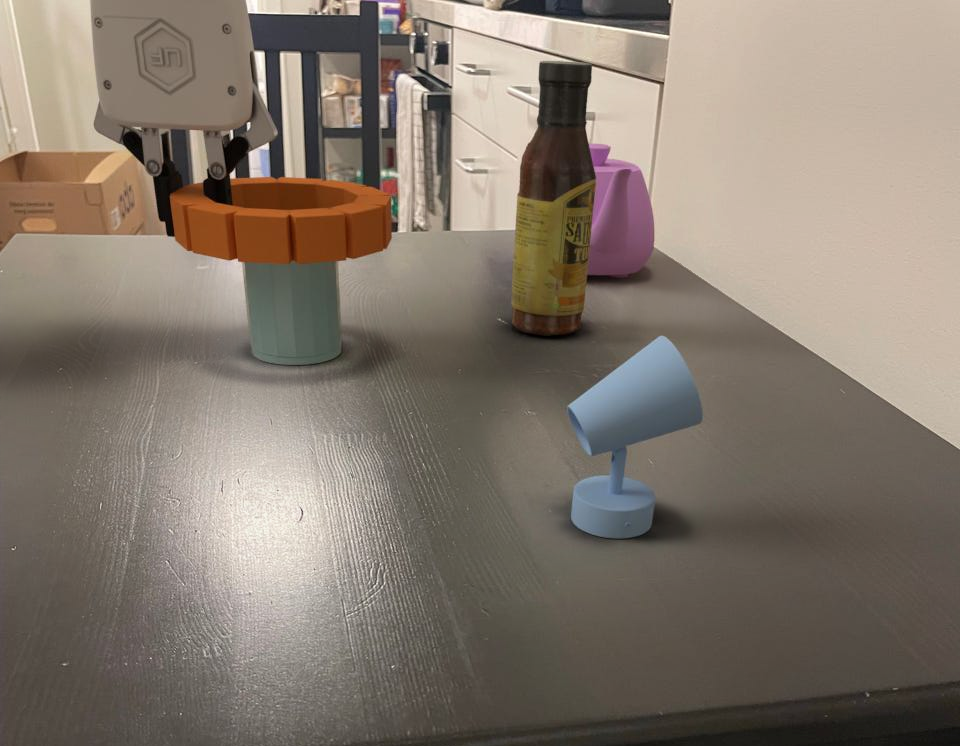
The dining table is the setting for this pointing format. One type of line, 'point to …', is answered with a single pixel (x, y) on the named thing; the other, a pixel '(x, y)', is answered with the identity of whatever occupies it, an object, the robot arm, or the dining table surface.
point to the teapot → (619, 217)
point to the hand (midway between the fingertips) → (198, 231)
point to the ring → (284, 221)
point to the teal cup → (293, 311)
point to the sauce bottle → (555, 207)
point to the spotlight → (629, 435)
